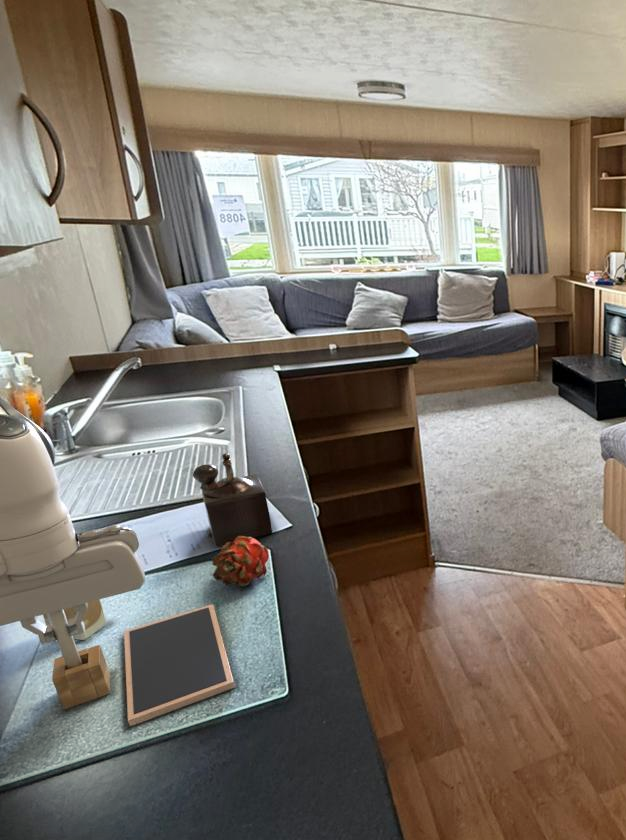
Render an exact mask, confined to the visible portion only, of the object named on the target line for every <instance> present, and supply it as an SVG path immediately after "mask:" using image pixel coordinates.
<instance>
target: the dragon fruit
mask: <svg viewBox="0 0 626 840" xmlns="http://www.w3.org/2000/svg"><path fill="white" fill-rule="evenodd" d="M269 559H270V555H269V550H268V548H267V547H266V546H265V545H263V544H262V543H261V542H259V540H257V539H256V538H255V539H254V538H251V537H245V536H238V537H237V538H236V539H235V541H234V542H227V543H226V544H225V545H224V546H221V548H220V552H219V553H217V554H215V555H214V556H212V558H211V561H212V563H211V564H212V566H215V567H216V568H215V570H214V572H213V574H212V577H213V578H214V580H215V581H222V584H224V585H226V586H229V585H230V586H231V585H236V586H240V587H241V586H242V587H243V586H244V587H246V586H248V585H249V584H251V582H252V580H253V579H260V577H265V575H267V567H266V563H267V562H268V561H269Z"/></svg>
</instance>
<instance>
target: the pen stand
mask: <svg viewBox="0 0 626 840" xmlns="http://www.w3.org/2000/svg"><path fill="white" fill-rule="evenodd" d="M78 653H79V656H80V659H81V661H82V664H83V665H80V666H77V667H74V668H71V669H67V667H66V664H65V661H64V658H63V656H62V655H61V656H59V657H55V658H54V659H53V669H52V678H51V681H52V684H53V686H54V689H55V691H56V693H57V696H58V699H59V701H60V703H61V705H62V708H63V710H67V709H70V708H74V707H76V706H79V705H82V704H84V703H87V702H88V703H89V702H91V701H93V700H96V699H99V698H102V697H106V696H108V695H110V694H111V672H110V669H109V667H108V664H107V660H106V658H105V655H104V652H103V650H102V646H101V644H97V645H94V646H90V647H88V648H83V649H80V650H78Z"/></svg>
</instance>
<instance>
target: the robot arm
mask: <svg viewBox="0 0 626 840" xmlns="http://www.w3.org/2000/svg"><path fill="white" fill-rule="evenodd" d="M55 463H56V451H55V446H54V443H53V441H52V440H51V437H50V435H48V434H47V433H46V431H44V430H43V429H42V428H41V427H40V426H39V425H37V424H36V423H35V422H33V421H32V420H31V419H30V418H28V417H26V416H25V415H24V414H22V413H21V412H19V410H17V409H15V407H13V406H12V405H11V404H10V403H9V402H8V401H7V400H5V399H4V397H2V395H0V627H4V626H6V625H11V624H14V623H18V622H20V624H21V627H22V628H23V629H25V630H27V631H29V632H31V633H32V634H35V635H36V636H37V635H38V639H39V641H40V644H41V645H42V646H43V645H45V644H50V643H53V642H57V639H56V636H55V634H54V631H53V628H52V626H51V624H50V625H46V624H44V623H43V622H41V621H40V620H38V617H39V616H43V615H44V614H47V613H51V612H55V611H59V610H62V609H66V608H70V607H72V608H73V611H74V612H75V613H76V612H77V614H76V616H75V618H72V619H68V621H67V622H68V624H67V628H68V631H70V633H69V634H70V636H74V635H77V634H81V633H84V632H85V626H84V622H83V619H84V616H85V614H86V612H87V609H88V603H89V602H92V601H96V600H100V601H101V600H103V599H106V598H107V599H108V598H111V597H114V596H118V595H123V594H126V593H130V592H133V591H137V590H139V589H141V588H142V586H143V585H144V584H145V582H146V574H145V573H146V572H145V570H144V569H145V568H144V566H143V564H142V561H141V559H140V556H139V555H138V553H137V551H138V550H139V547H140V543H139V539H138V536H137V534H136V533H137V532H135V531H134V529H131V528H129V527H128V526H127V527H126V526H120V525H119V524H118V525H117V524H115V525H110V526H106V527H104V528H99V529H92V530H88V531H83V532H78V533H77V532H76V531H75V527H74V524H73V521H72V518H71V515H70V512H69V509H68V507H67V506H66V505H65V504H64V502H63V500H62V499H61V497H60V495H59V479H58V475H57V472H56V469H55Z"/></svg>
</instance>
